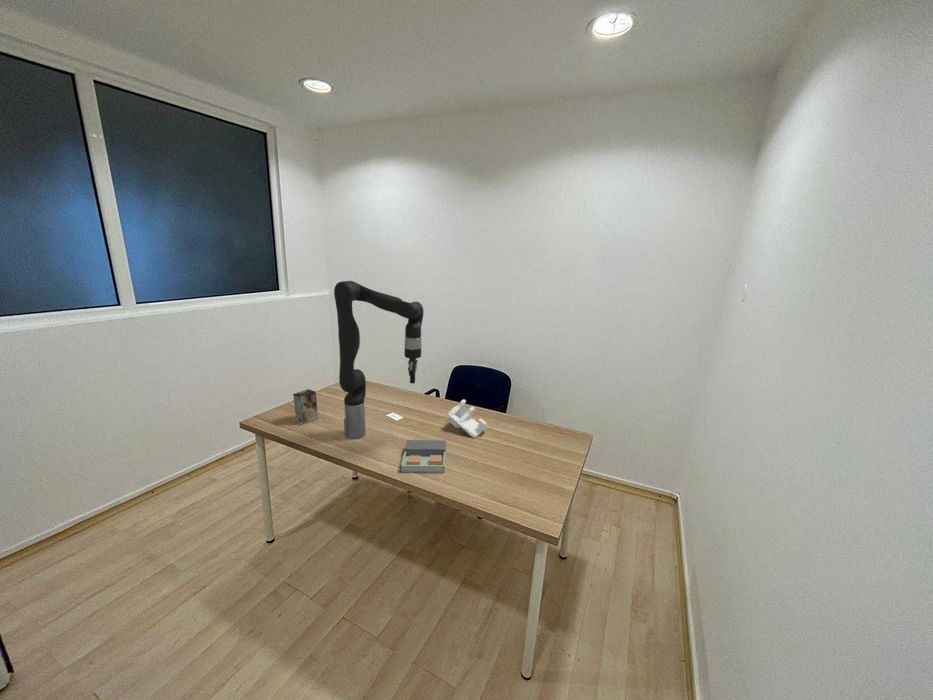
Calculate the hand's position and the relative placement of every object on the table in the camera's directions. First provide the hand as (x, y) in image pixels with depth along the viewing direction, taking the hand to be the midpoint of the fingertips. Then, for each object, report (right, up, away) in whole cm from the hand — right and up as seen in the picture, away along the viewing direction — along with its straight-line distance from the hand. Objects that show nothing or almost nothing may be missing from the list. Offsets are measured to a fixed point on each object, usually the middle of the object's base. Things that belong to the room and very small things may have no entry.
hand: (412, 382), depth 162 cm
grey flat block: (+6, -32, -1) cm, 32 cm away
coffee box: (-61, -23, +26) cm, 70 cm away
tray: (+7, -34, -11) cm, 37 cm away
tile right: (+12, -31, -11) cm, 35 cm away
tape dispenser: (+25, -27, +21) cm, 42 cm away
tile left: (+3, -31, -12) cm, 34 cm away
